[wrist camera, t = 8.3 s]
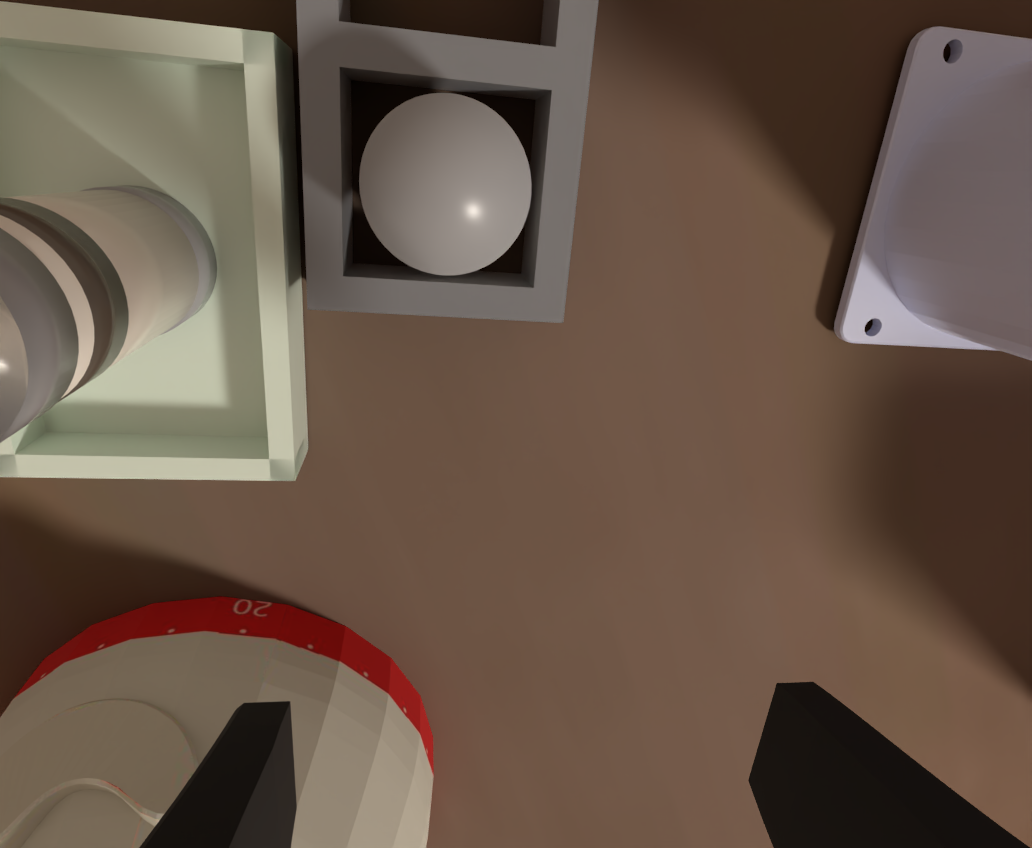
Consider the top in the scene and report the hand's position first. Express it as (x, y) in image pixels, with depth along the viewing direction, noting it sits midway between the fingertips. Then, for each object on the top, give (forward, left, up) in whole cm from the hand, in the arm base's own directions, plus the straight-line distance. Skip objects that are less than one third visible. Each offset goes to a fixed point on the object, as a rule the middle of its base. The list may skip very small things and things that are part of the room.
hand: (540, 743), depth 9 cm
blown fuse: (+9, -5, -10) cm, 14 cm away
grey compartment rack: (+2, -10, -10) cm, 15 cm away
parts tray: (+9, -5, -10) cm, 14 cm away
